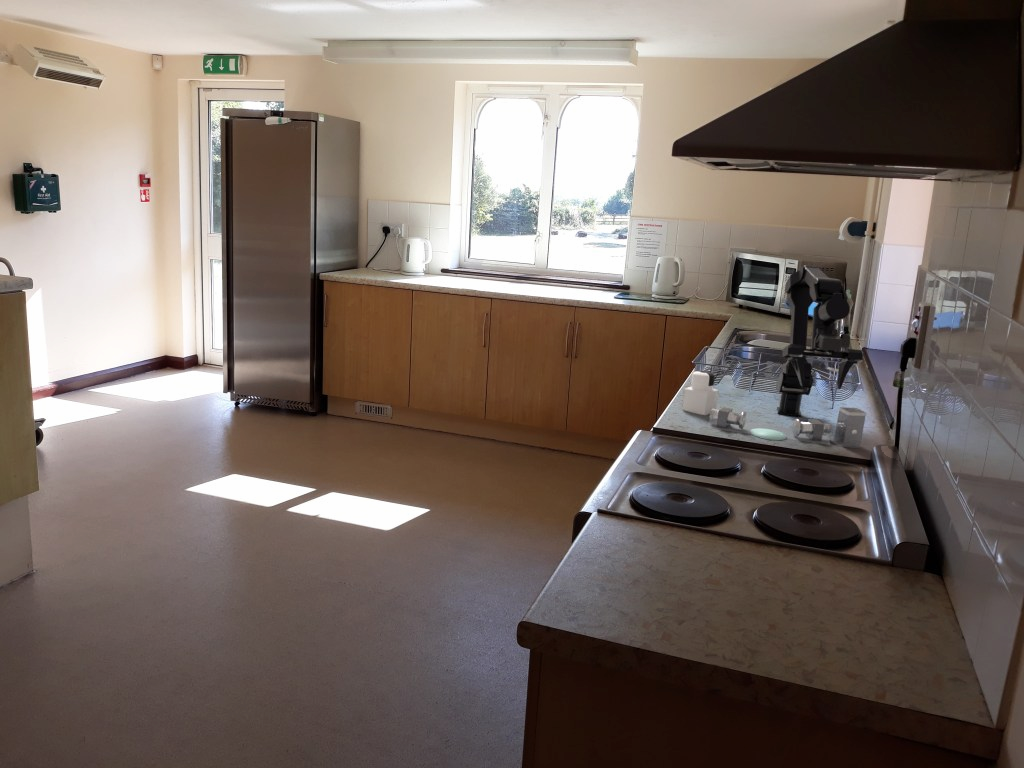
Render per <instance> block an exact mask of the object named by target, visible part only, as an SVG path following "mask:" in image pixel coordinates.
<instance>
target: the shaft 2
mask: <svg viewBox="0 0 1024 768" xmlns="http://www.w3.org/2000/svg"><path fill="white" fill-rule="evenodd" d="M791 427H792V428H791V429H792V432H793V435H794V436H799V434H806V436H807V437H808V438H809V439H811V440H812V441H822V435H825V436H828V437H830V435H831V432H832V427H831V424H830V423H823V422H821V421H820V420H819V419H817V418H808V419H807V422H806V421H801V420H800V418H795V419H793V421H792V425H791Z"/></svg>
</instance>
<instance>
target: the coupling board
mask: <svg viewBox="0 0 1024 768" xmlns="http://www.w3.org/2000/svg"><path fill="white" fill-rule="evenodd" d="M707 425H708V426H707V428H708V429H710V430H711V429H712V430H718V431H725V432H726V431H727V432H732V433H733V432H735V433H739V434H740V433H741V434H748V435H752V436H754V437H756V438H760V439H764V440H770V441H783V440H791V441H798V442H805V443H812V444H813V443H814V444H819V445H828V446H831V445H832V444H831V442H830V440H829V436H825V435H822V441H812V440H811V439H809V438H808V437H807V436H806V434H799V436H794V435H793V432H792V428H790V427H782V426H777V425H776V426H775V425H768V424H762V423H753V422H745V425H744V428H743V429H740V428H739V425H734V424H730V426H728V427H727V428H726V429H724V428H719V427H716V426H717V421H714V420H710V417H708V424H707Z"/></svg>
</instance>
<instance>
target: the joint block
mask: <svg viewBox="0 0 1024 768" xmlns="http://www.w3.org/2000/svg"><path fill="white" fill-rule="evenodd" d="M866 416H867V412H866V411H864V410H862V409H860V408H857V407H843V406H839V407H838V414H837V421H836V428H835V433H834V439H833V442H834V443H835V444H837V445H838V446H840V447H842V448H856V449H860V448H861V443H862V439H863V438H862V437H863V432H864V427H865V422H866Z"/></svg>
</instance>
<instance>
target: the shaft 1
mask: <svg viewBox="0 0 1024 768" xmlns="http://www.w3.org/2000/svg"><path fill="white" fill-rule="evenodd" d="M709 418H710V420H714V421H717V426H716V427H719V428H724V429H726V428H727V427H728V426H730V424H734V425H739V428H740V429H743V428H744V425H745V422H746V421H747V412H745V411H742V412H741V413H738V412H737V413H736V412H733V408H730V407H725V406H723V407H721V408H720V409H717V408H716V409H712V410H711V412H710V414H709ZM746 423H747V422H746Z"/></svg>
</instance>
